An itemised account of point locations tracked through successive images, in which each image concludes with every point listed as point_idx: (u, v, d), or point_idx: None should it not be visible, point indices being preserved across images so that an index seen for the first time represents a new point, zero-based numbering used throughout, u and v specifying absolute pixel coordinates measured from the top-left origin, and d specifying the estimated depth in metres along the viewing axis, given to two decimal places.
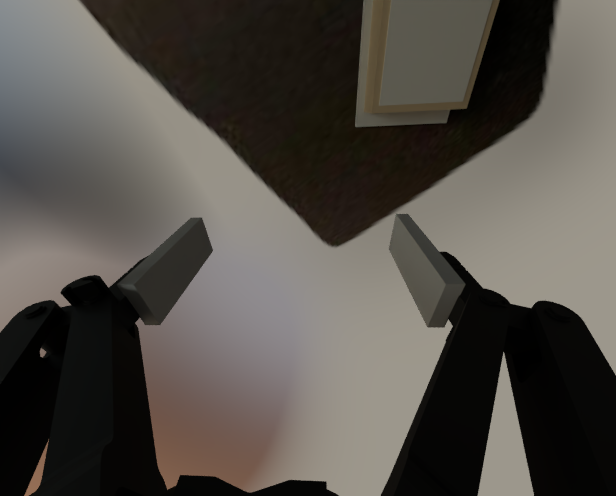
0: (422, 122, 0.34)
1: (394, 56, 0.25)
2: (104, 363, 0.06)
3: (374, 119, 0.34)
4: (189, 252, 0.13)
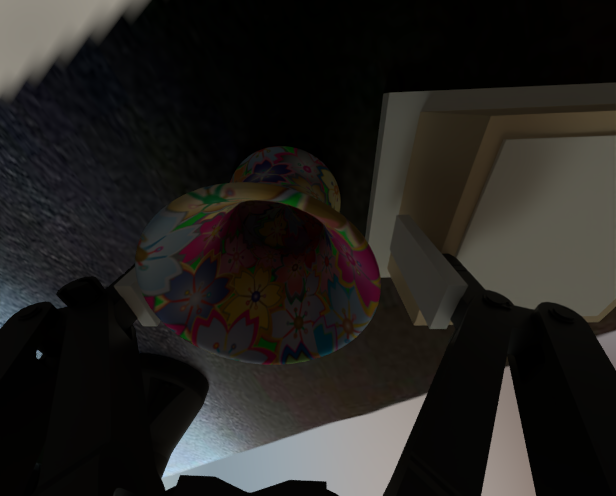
0: None
1: (529, 306, 0.13)
2: (101, 364, 0.06)
3: None
4: None
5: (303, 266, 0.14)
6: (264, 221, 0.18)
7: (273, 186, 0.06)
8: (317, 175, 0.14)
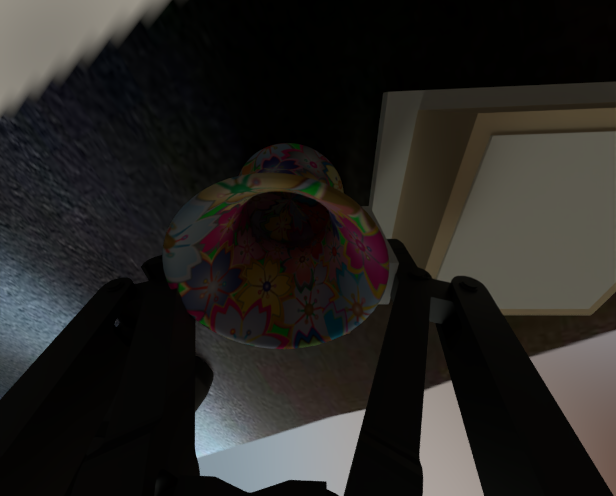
0: None
1: (521, 297, 0.14)
2: (165, 339, 0.07)
3: None
4: None
5: (310, 257, 0.15)
6: (270, 217, 0.18)
7: (295, 176, 0.07)
8: (322, 170, 0.14)
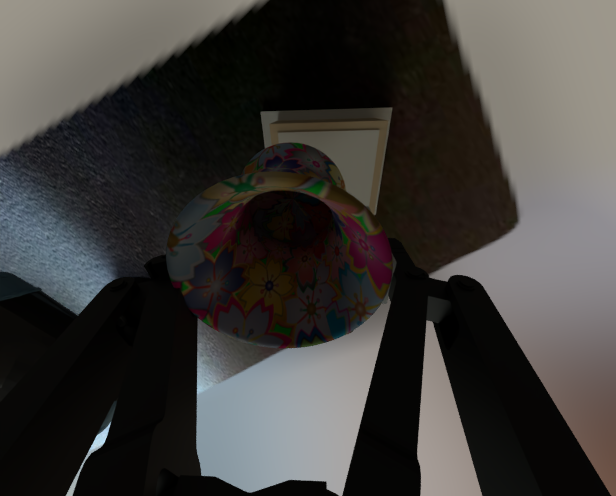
0: (385, 141, 0.28)
1: None
2: (167, 339, 0.07)
3: None
4: None
5: (313, 257, 0.15)
6: (272, 216, 0.18)
7: (299, 175, 0.07)
8: (325, 170, 0.14)
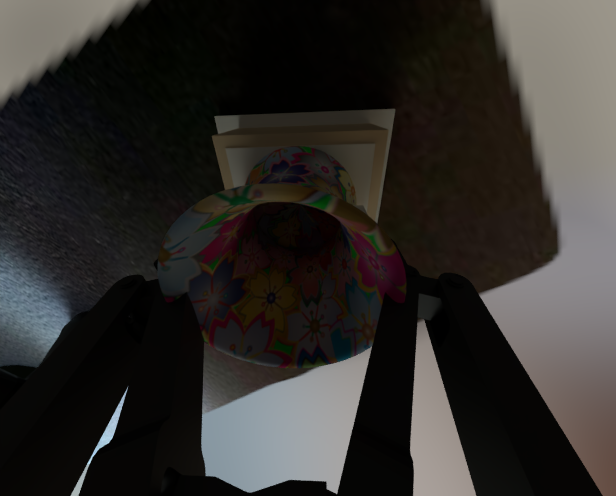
0: (385, 155, 0.21)
1: None
2: (174, 337, 0.07)
3: None
4: None
5: (318, 268, 0.14)
6: (278, 222, 0.18)
7: (302, 188, 0.06)
8: (335, 176, 0.13)
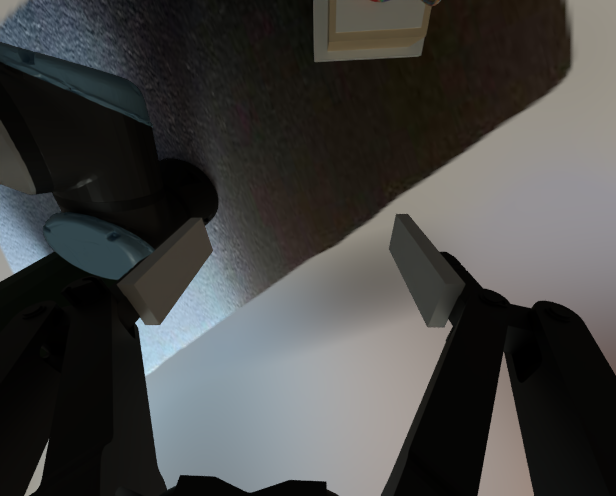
0: None
1: (383, 16, 0.26)
2: (104, 363, 0.06)
3: None
4: (189, 252, 0.13)
5: None
6: None
7: None
8: None
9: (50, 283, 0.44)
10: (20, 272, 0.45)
